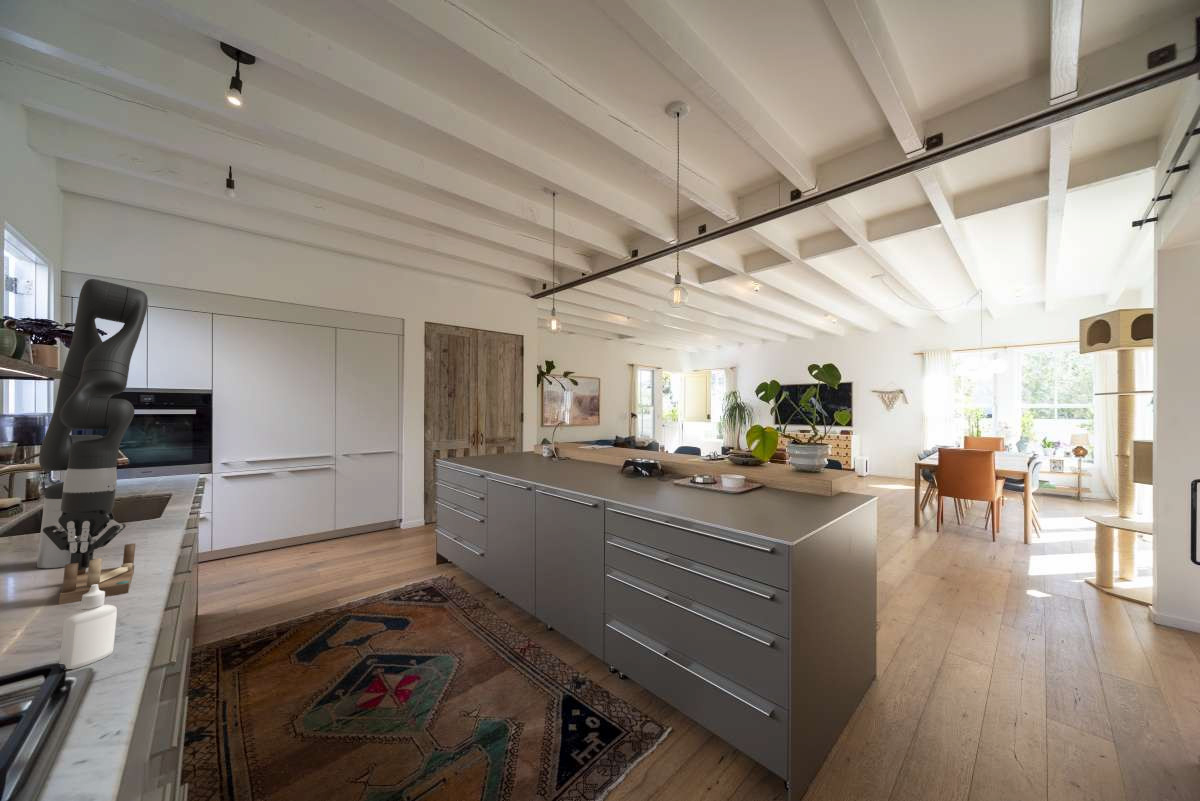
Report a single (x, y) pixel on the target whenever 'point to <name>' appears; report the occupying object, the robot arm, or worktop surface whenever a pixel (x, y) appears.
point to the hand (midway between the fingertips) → (80, 568)
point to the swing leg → (95, 573)
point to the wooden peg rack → (116, 585)
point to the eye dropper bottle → (89, 631)
